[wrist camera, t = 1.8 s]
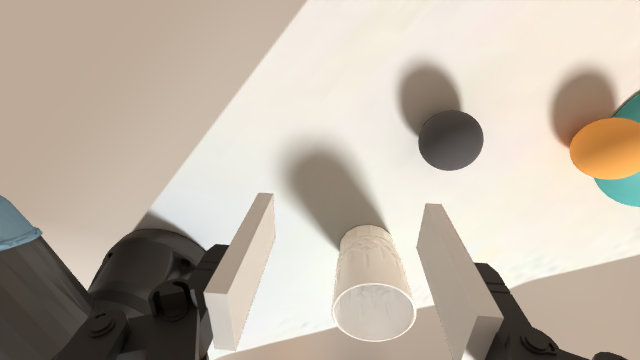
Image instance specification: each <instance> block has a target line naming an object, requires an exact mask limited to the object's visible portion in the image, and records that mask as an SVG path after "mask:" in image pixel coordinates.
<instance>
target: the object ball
mask: <svg viewBox="0 0 640 360" xmlns="http://www.w3.org/2000/svg"><path fill="white" fill-rule="evenodd" d="M570 157H571V160H572V162H573V163H574V165H575V166H576V167H577V168H578V169H579V170H580V171H581V172H583V173H585V174H587V175H589V176H591V177H594V178H598V179H621V178H625V177H628V176H631V175H633V174H635V173H637V172H639V171H640V123H638V122H636V121H633V120H630V119H626V118H605V119H601V120H597V121H594V122H592V123H590V124H588V125H586V126H585V127H583V128H582V129H581V130H580V131H579V132H578V133H577V134H576V135H575V136H574V138H573V139H572V142H571V144H570Z"/></svg>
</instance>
